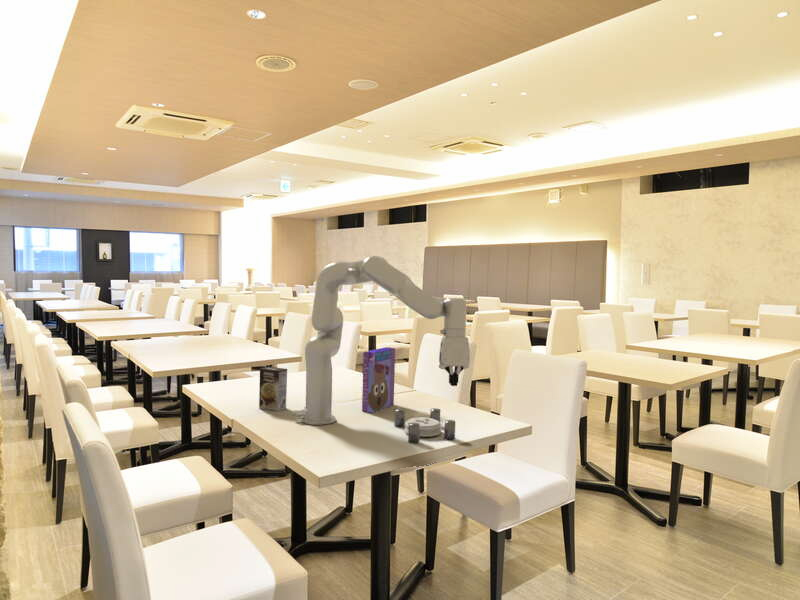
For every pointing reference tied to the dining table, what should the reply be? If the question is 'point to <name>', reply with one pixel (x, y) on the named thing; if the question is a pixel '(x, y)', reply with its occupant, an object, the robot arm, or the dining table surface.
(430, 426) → the lid
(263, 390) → the coffee box
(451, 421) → the post field
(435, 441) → the dining table surface
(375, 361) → the cereal box
